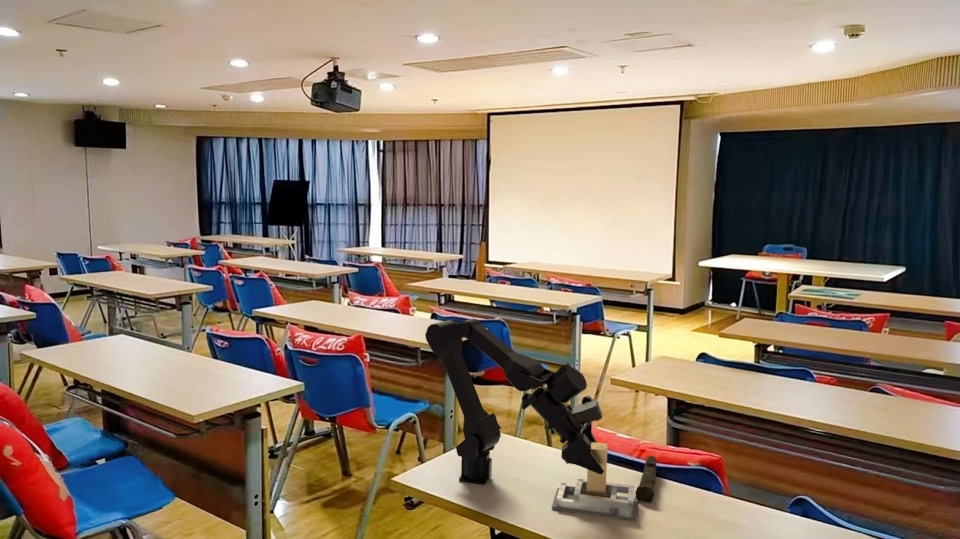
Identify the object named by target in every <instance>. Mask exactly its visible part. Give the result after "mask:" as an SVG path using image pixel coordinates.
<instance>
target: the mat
mask: <svg viewBox="0 0 960 539" xmlns="http://www.w3.org/2000/svg"><path fill="white" fill-rule="evenodd" d="M559 488H560V487H557V489H556V492H555V495H554V498H553V502H552V506H551V509H552V510H555V511H562V512H568V513H577V514H584V515H590V516H591V515H592V516H597V517H605V518H611V519H619V520H627V521H631V522H633V521H634V522H637V519H638V515H637V514H638V500H637V498H636V497H634V505H633V510H626V509H618V508H615V515H613V514H606V513H599V512H592V511H585V510H577V509H570V508H563V507H556V498H557V495H558V492H559ZM583 495H585V494H583ZM573 498H574V493H570V492H565V496H564V499H571V500H573ZM606 498H607V497H606ZM616 499H621V500H628V496H622V495H617V498H616Z"/></svg>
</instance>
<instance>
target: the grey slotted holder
mask: <svg viewBox="0 0 960 539" xmlns="http://www.w3.org/2000/svg"><path fill="white" fill-rule="evenodd" d="M558 488H559V492H558V495H557V498H556V507H563V508H570V509H577V510H585V511H592V512H599V513H606V514H613V515H615V508H618V509H626V510H633V505H634V498H635V485H629V484H621V483H616V482H607V481H606V490H605V497H598V496H591V495H586V491H587V479H585V478H584V479H583V478H577V480H576V484H575V483H574V484H572V483H567V482H566V483H565V482H561V483H560V486H559V487H558ZM565 492H570V493H574V498H573V500H571V499H564V496H565ZM618 493H620V494H626V495H627V497H628V500H621V499H616V498H617V496H618ZM583 494H585V495H583ZM606 497H607V498H606Z"/></svg>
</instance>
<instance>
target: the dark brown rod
mask: <svg viewBox="0 0 960 539" xmlns="http://www.w3.org/2000/svg"><path fill="white" fill-rule="evenodd" d="M656 477H657V458H656V456H654V455H649V456H648V457H647V459H646V460H645V463H644V468H643V472H642V475H641V479H640V481H639V484H638V485H639V486H637V488H636V490H635V495H634V498H637V502H641V503H648V504H649V503H650V504H651V503H652V501H653V500H654V499H653V498H654V496H655V491H654V490H655V484H656Z"/></svg>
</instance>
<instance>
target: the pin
mask: <svg viewBox="0 0 960 539" xmlns="http://www.w3.org/2000/svg"><path fill="white" fill-rule="evenodd" d="M591 452H592V453H593V455H594V456H595V458H596V459H597V461H598V462H599V464H600V465H601V467H602V468H603V470H604V473H602V474H601V475H600V474H598V473H595V472H593V471H590V470H588V469H586V470H587V472H586V473H587V474H586V480H587V491H586V495H591V496H598V497H605V490H606V482H607V468H608V443H607V442H606V443H605V442H597V443H596V442H591Z"/></svg>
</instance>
